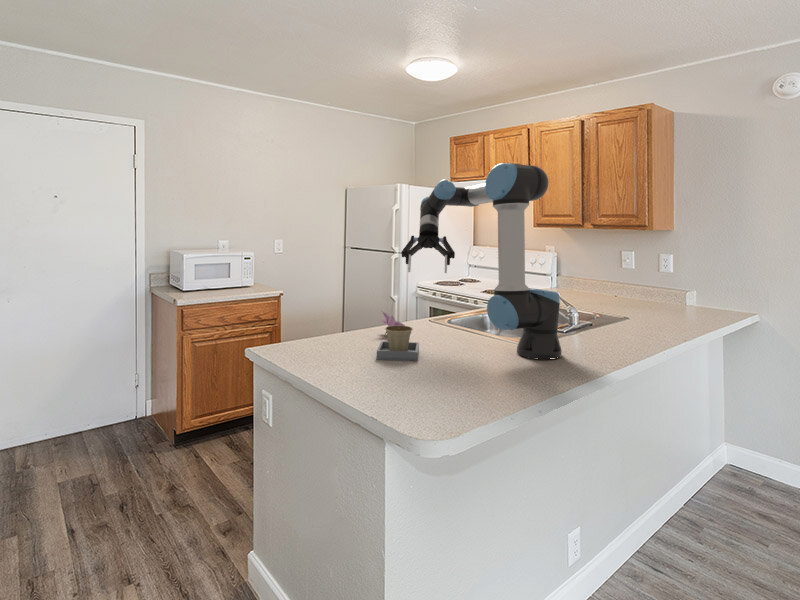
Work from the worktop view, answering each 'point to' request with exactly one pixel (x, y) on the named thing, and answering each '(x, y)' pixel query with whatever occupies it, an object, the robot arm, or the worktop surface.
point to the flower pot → (398, 337)
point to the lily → (390, 320)
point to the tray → (398, 352)
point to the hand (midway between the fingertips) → (427, 270)
